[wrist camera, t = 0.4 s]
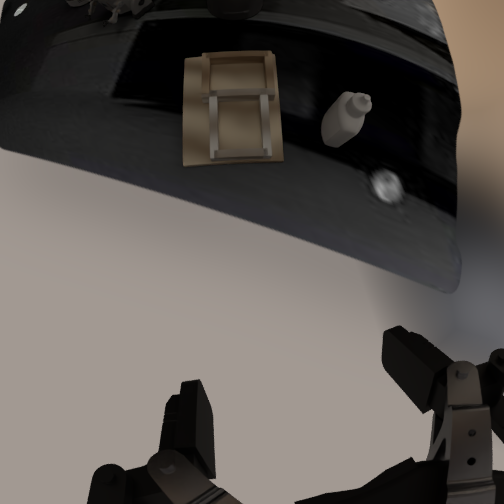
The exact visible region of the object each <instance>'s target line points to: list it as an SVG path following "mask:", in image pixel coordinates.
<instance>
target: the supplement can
mask: <svg viewBox="0 0 504 504" xmlns="http://www.w3.org/2000/svg"><path fill="white" fill-rule="evenodd" d="M66 1H67V2H68V3H69V5H70V6H73V7H75V6H81V5H84V4H86V3H88V2H90V1H91V0H66Z"/></svg>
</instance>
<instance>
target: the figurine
mask: <svg viewBox="0 0 504 504" xmlns="http://www.w3.org/2000/svg"><path fill="white" fill-rule="evenodd" d="M97 1H99V2H100V3H101V4H102V5H103V6H104V7H105V8H107V9H108V10H110V11H111V12H113V14H112V17H111V18H110V20H108V21H105V20H103V24H104V22H106V23H105V25H103V24H102V25H103V27H105V26H106V24H107V23H109V22H110V23H111V24H113V23H114V24H115V23H116V22H117V16H118V14H123V13H125V12H128V11H130V10H132V16H133V18H136V19H139V18H140V17H141V15H142V16H143V15H144V13H145V12H146V11H149V9H150V8H152V7H153V6H154V5H155V4H154V2H153V1H151V0H93V1H91V2H90V5H91V6H90V9H88V12H89V14H88V15H84V16H85V18H86V16H88V17H89V20H91V18H90V15H91V14H92V13H94V12H95V6H96V5H97Z"/></svg>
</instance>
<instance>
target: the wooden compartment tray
mask: <svg viewBox="0 0 504 504" xmlns="http://www.w3.org/2000/svg"><path fill="white" fill-rule="evenodd" d="M283 161H284V158H283V144H282V130H281V117H280V105H279V93H278V82H277V72H276V62H275V54H272V52H271V51H230V52H214V53H202V57H195V58H187V59H185V70H184V94H183V166H184V167H193V166H205V165H220V164H239V163H268V162H283Z"/></svg>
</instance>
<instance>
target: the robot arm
mask: <svg viewBox="0 0 504 504" xmlns="http://www.w3.org/2000/svg"><path fill="white" fill-rule="evenodd" d="M262 5H263V0H207V7H208V10H209V11H210V13H212V14H213V15H214V16H216V17H218V18H222V19H226V20H242V19H246V18H249V17H252V16H254V15H256V14H257V13H258V12H259V11H260V10H261V8H262ZM382 364H383V367H384V369H385V370H386V371H387V373H388V374H389V375H390V376H391V377H392V378H393V380H394V381H395V382H396V383H397V384H398V385H399V387H400V388H401V389H402V390H403V391H404V392H405V393H406V395H407V396H408V397H409V398H410V399H411V400H412V402H413V403H414V404H415V405H416V406H417V407H418V409H419V410H420V411H421V412H422V413H423V414H424V413H426V412H427V411H429V410H431V409H432V410H433V411H434V414H433V421H432V432H431V441H430V449H429V453H428V456H427V459H426V461H420V462H415V461H414V460H413V458H412V457H410V458H409V459H407V460H405V461H403V462H401V463H399V464H397V465H395V466H393V467H391V468H389V469H387V470H385V471H384V472H382V473H381V474H380V475H378V476H377V477H376V478H374V479H373V480H371V481H370V482H368V483H367V484H365V485H364V486H362V487H361V488H358V489H353V490H347V491H340V492H332V493H325V494H322V495H318V496H315V497H312V498H308V499H304V500H300V501H296V502H295V504H504V471H498V470H492V430H493V431H494V433H495V434H496V435H497V436H498V437H499V438H500V440H501V441H502V442H503V443H504V396H503V393H504V349H497V350H494V351H493V352H492V353H491V355H490V358H489V361H488V362H486V363H483V364H479V365H476V366H475V365H474V364H472V363H470V362H468V361H457V362H454V361H453V360H451V359H450V358H449V357H448V356H447V355H445V354H444V353H443V352H442V351H440V350H439V349H438V348H437V347H434V345H433V344H432V343H430V342H428V340H427V339H426V338H424V337H423V336H422V335H420V334H417V333H414V332H408V331H407V330H406V329H404V328H403V327H402V326H396V327H393V328H391V329H388V330H386V331H384V333H383V345H382ZM164 414H165V415H164V419H163V422H164V423H163V425H162V431H161V438H160V445H159V451H158V452H157V453H156V454H154V455H153V456H152V457H151V458H150V459H149V461H148V463H147V465H145V466H142V467H138V468H134V469H130V470H126V471H125V470H124V469H123V468H122V467H120V466H118V465H116V464H106V465H103V466H101V467H100V468H98V469H97V470H96V471H95V472H94V475H93V477H92V481H91V486H90V491H89V496H88V501H87V504H242V503H241V502H240V501H238V500H237V499H236V498H234V497H233V496H232V495H231V494H229V493H228V492H227V491H225V490H224V489H222V488H218V487H217V486H216V485H215V484H213V483H212V482H211V481H210V480H209V479H216V472H215V453H214V427H213V413H212V408H211V405H210V402H209V400H208V397H207V395H206V393H205V390H204V387H203V385H202V383H201V381H200V379H198V380H192V381H185V382H182V383H181V389H180V394H178V395H172V396H171V398H170V399H169V400H168V402H167V403H166V407H165V413H164ZM491 429H492V430H491Z"/></svg>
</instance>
